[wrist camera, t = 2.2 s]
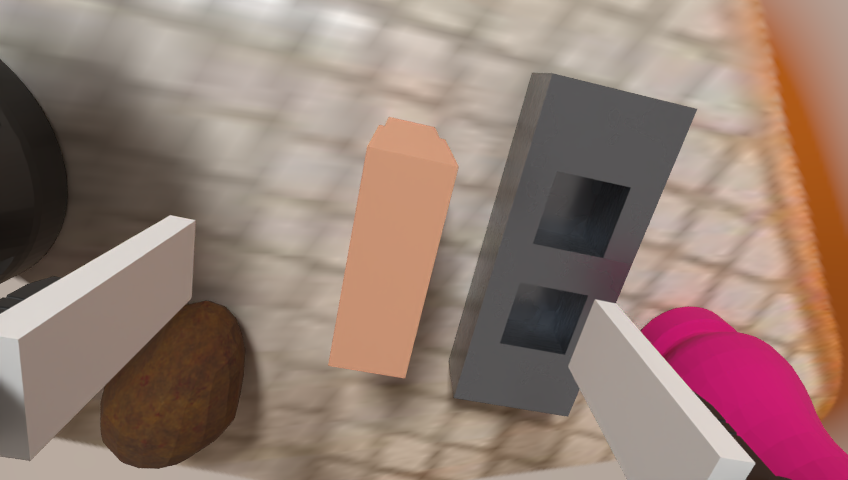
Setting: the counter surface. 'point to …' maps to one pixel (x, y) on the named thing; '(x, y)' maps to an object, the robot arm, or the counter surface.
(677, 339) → the pepper mill
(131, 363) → the potato
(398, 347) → the peach wedge-cut bar
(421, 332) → the counter surface
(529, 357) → the rail
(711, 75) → the counter surface
